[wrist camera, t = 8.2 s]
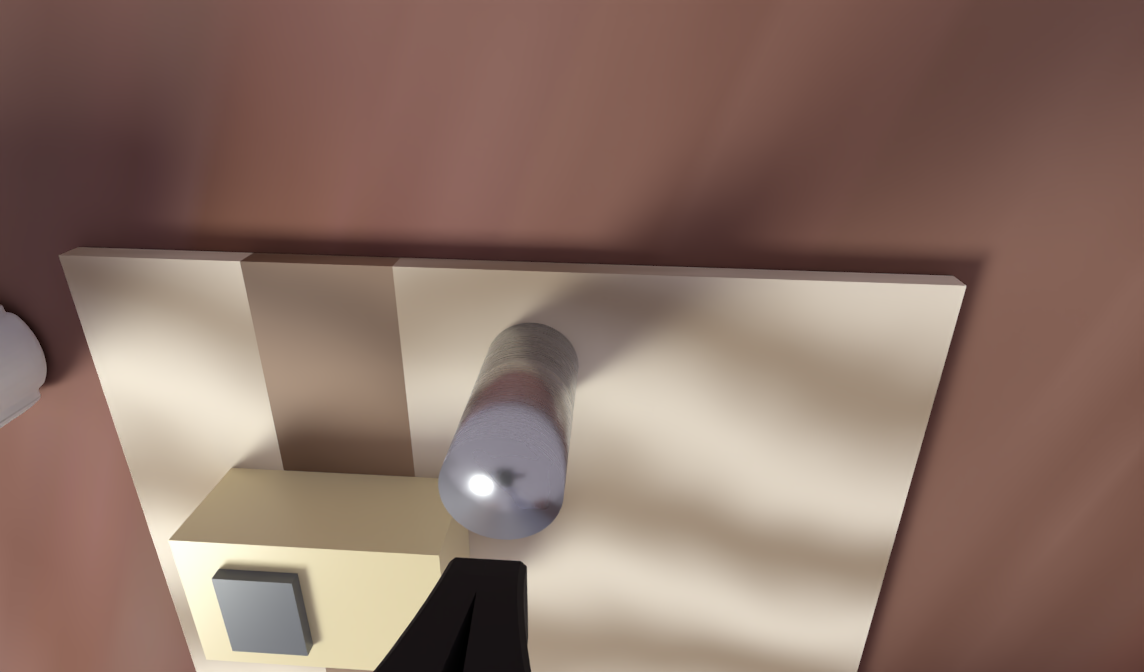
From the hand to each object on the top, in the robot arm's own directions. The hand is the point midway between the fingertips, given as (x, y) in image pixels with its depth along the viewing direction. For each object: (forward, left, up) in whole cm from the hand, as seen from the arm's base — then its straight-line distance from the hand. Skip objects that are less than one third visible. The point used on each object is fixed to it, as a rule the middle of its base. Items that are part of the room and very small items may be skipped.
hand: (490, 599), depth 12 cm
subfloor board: (-6, +1, -10) cm, 11 cm away
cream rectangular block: (-7, +7, -9) cm, 13 cm away
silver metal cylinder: (0, 0, -9) cm, 9 cm away
